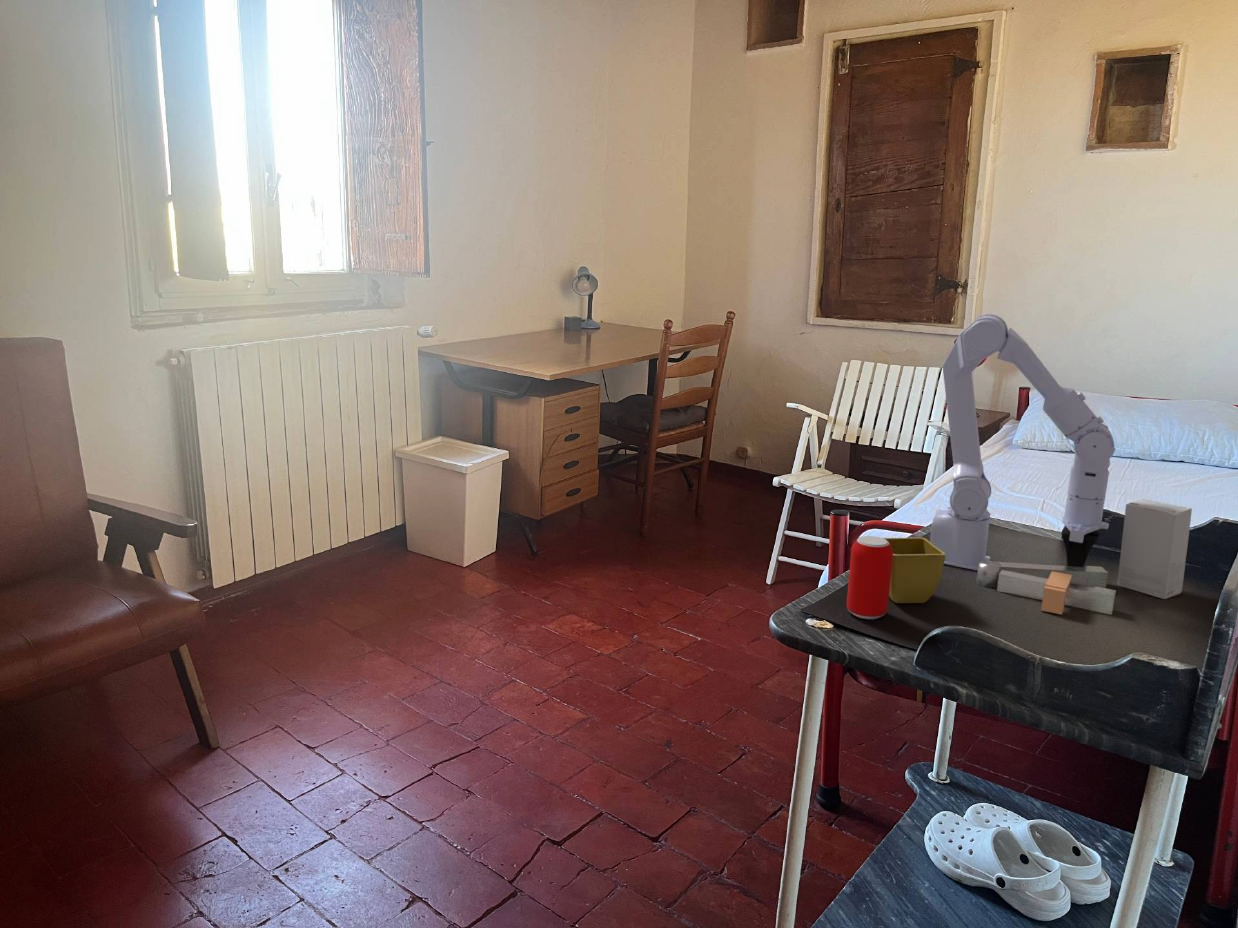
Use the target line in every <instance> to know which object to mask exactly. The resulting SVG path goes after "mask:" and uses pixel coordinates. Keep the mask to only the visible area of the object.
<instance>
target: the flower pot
mask: <svg viewBox="0 0 1238 928" xmlns="http://www.w3.org/2000/svg"><path fill="white" fill-rule="evenodd" d="M883 538H884V539H886V540H887V541H888V542H889V543H890V545H891V547H892V550H893V560H892V570H891V581H890V591H889V598H890V600H892V602H894V603H895V604H924V603H925V604H926V602H927V601H928V600H929V599H930V598H931V597H932V596H933V594H934V593H935V592H936V590H937V589H938V586H939V584H940V581H941V577H942V573H943V570H944V565H945V564H944V561H945V557H946V554H945V553H944V552H943V551H941V550H940V549H938V548H937V547H935V546H934V545H933V544H932V543H931V542H930V540H928V539H927V538H925V537H883Z"/></svg>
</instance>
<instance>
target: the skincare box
mask: <svg viewBox="0 0 1238 928" xmlns="http://www.w3.org/2000/svg"><path fill="white" fill-rule="evenodd" d="M1192 510H1193V508H1192V507H1191V508H1190V507H1186V506H1181V505H1175V504H1169V503H1165V502H1160V501H1155V500H1152V499H1146V498H1140V499H1137V500H1135V501H1132V502H1129V503H1126V504H1125V510H1124V511H1125V513H1124V521H1123V529H1122V538H1121V547H1120V548H1121V549H1120V556H1119V565H1118V573H1117V583H1116V585H1117V586H1119V587H1122V588H1126V589H1128V590H1132V591H1136V592H1139V593H1141V594H1146V595H1150V596H1152V597H1155V598H1158V599H1162V600H1167V599H1169V598H1171V597H1175V596H1178V595H1180V594H1181V593H1182V590H1183V585H1184V584H1183V583H1184V578H1185V577H1184V576H1185V568H1186V561H1187V560H1186V559H1187V553H1188V544H1189V539H1190V538H1189V535H1190V529H1191V520H1192Z"/></svg>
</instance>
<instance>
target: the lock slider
mask: <svg viewBox="0 0 1238 928" xmlns="http://www.w3.org/2000/svg"><path fill="white" fill-rule="evenodd" d="M1071 580H1072V575H1069V574H1063V573H1058V572H1053V571H1052V572H1051V574H1050V576H1049V578H1048V580H1047V582H1046V584H1045V587H1044V593H1043V600H1041V609H1040V611H1043V612H1047V613H1053V614H1057V615H1061V616H1063V612H1064V609H1065V606H1066V605H1065V598H1066V591H1067V589H1068V587H1069V584H1070V582H1071Z"/></svg>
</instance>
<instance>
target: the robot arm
mask: <svg viewBox="0 0 1238 928" xmlns="http://www.w3.org/2000/svg"><path fill="white" fill-rule="evenodd" d="M998 352H999V353H998ZM996 353H998V354H997V357H996V359H997V360H1001V361H1005V362H1008V363H1010V364H1012V365H1014V366H1015V367H1016V368H1017V369H1018V370H1019V372H1020V373H1022V375H1023V376H1024V377H1025V378H1026V379H1027V380H1028V382H1030V384H1031V385H1032V386H1033V387H1034V388H1035V389H1036V391H1037V392H1038V393H1039V394H1040V395H1041V396H1042V398H1043V399H1044V400H1043V406H1042V411H1043V412H1044V413H1045V414H1046V416H1047V417H1048V418H1049V419H1050V420H1051V421H1052V423H1053V424H1054V425H1055V426H1056V428H1057V429H1058V430H1059V431H1060V433H1061V434H1062V435H1063V437H1065V439H1068V440H1070V441H1072V442H1073V445H1074V447H1073V449H1074V452H1075V453H1074V459H1073V465H1072V466H1071V468H1070V474H1069V481H1068V482H1069V483H1068V488H1067V494H1066V495H1067V496H1066V502H1065V508H1064V516H1063V517H1062V519H1061V521H1062V524H1063V525H1064V526H1065V527H1063V528H1062V529H1061V532H1060V535H1061V539H1062V541H1063V544H1064V548H1065V552H1066V566H1073V567H1083V566H1086V561H1087V559H1088V556H1089V554H1090V551H1091V549H1092V548H1093V546H1094V545H1095V544H1096V542H1097V541H1098V539H1099V537H1100V535H1101V532H1100V531H1099V530H1100V529H1103V530H1108V529H1109V525H1110V524H1109V522H1106V521H1102V519H1103V514H1104V506H1105V500H1106V496H1107V495H1106V494H1107V487H1108V482H1109V481H1108V480H1109V475H1110V471H1109V467H1110V464H1111V458H1112V456H1113V455H1114V454H1115V451H1116V447H1115V441H1114V438H1113V435H1112V433H1111V431H1110V430H1109V426H1107V425H1106V424H1104V419H1103V418H1102V417H1101V416H1098V417H1097V415H1096V414H1095V413H1094V412H1093V410H1092V409H1091V408H1090V407H1089V406H1088V404H1086V402H1085V400H1086V396H1085V394H1084V393H1083V392H1082V391H1079V392H1077V391H1076V390H1075V389H1074V388H1071V387H1063V386H1061V385H1060V384H1059V383H1058V382H1057V380H1056V379H1055V378H1054V376H1053V375H1052V373H1051V372H1050V371H1049V369H1048V368H1047V367H1046V366H1045V365H1044V364H1043V362H1042V361H1041V360H1040V358H1039V356H1037V355H1036V353H1035V352H1034V350H1033V349H1032V348H1031V347H1030V345H1029V344H1028V343H1027V341H1026V340H1025V339H1023V338H1022V337H1021V336H1020V335H1019V333H1017V331H1015V330H1014V329H1013V328H1012V327H1009V329H1008V325H1007V324H1006V321H1005V320H1004V319H1003V318H1002V317H1000V316H998V315H996V314H993V313H989V314H988V313H987V314H982V315H980V316H979V317H977V318H976V319H974V320H973V321H972V322H971V323H970V324H969V325H968V326H967V327H966V328H964V329H963V330H962V331H961V332H960V333H959V335H958V336H957V338H956V341H954V344H953V346H952V347H951V350H950V351H949V353H948V355H947V356H946V358H945V360H944V362H943V364H942V373H943V382H944V384H943V385H944V393H945V400H946V409H947V419H948V428H949V429H948V430H949V436H950V446H951V454H952V461H953V463H952V465H953V468H952V471H953V472H952V474H953V475H952V481H953V487H952V488H953V489H952V492H951V493H950V495H949V504H950V506H948V508H947V510H945V509H937V510H936V511H935V512H934V515H933V518H932V522H931V527H930V528H931V531H930V539H929V542H931V543H932V544H933V545H934V546H935V547H937V548H938V549H940V550H941V551H943V552H944V553H945V554H946V557H945V561H944V565H947V566H952V567H957V568H964V569H968V570H973V571H978V564H979V561H982V560H989V561H991V556H987V555H986V553H987V544H988V537H989V528H990V527H989V526H990V522H991V521H990V519H991V513H990V512H989V510H988V506H989V499H990V497H991V495H992V485H991V483H990V481H989V480H988V479H987V477H986V475H985V472H984V464H983V461H982V454H981V446H980V437H979V436H980V435H979V428H978V427H979V426H978V418H977V408H976V400H975V399H976V398H975V397H976V396H975V390H974V381H973V372H974V370H975V369H977V367H978V366H979V365H981V363H982V362H983V360H985V359H987V358H988V357H991V356H992V355H994V354H996Z"/></svg>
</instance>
